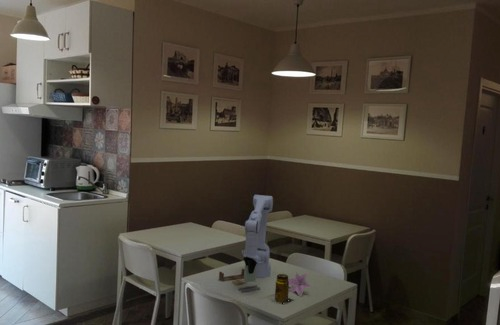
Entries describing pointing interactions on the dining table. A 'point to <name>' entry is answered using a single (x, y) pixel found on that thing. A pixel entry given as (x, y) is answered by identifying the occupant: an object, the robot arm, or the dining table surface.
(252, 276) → the sheet
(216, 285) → the dining table surface
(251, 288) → the stand
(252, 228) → the robot arm
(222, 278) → the rack
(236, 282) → the offcut upper
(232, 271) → the dining table surface
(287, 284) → the condiment
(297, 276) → the lily
